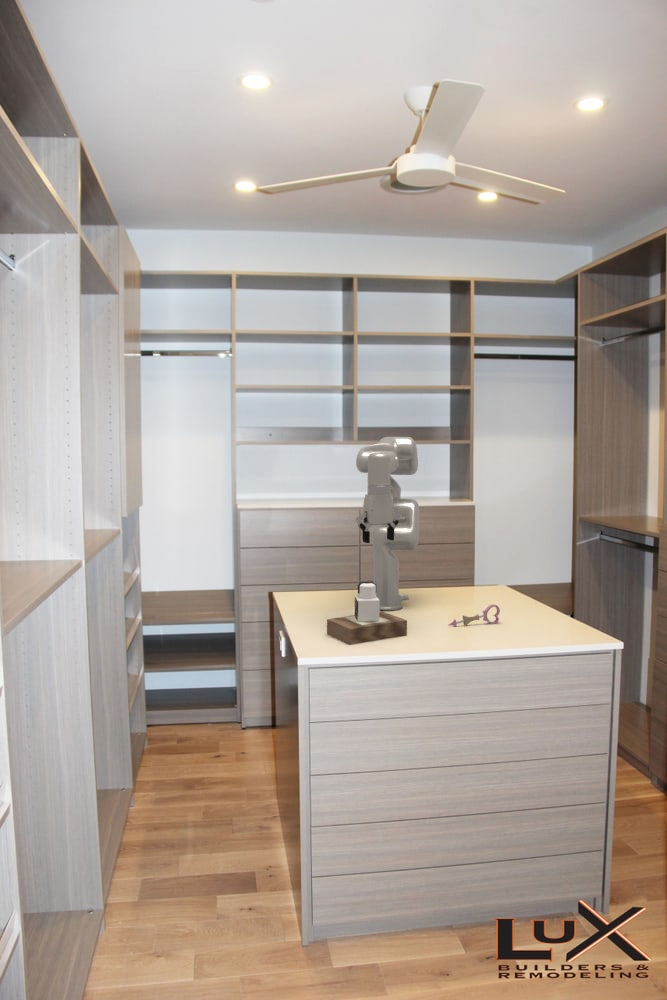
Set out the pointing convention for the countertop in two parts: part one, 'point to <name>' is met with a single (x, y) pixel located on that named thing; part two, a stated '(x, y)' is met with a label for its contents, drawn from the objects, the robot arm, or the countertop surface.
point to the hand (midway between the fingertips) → (378, 541)
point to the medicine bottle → (366, 603)
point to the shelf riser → (366, 628)
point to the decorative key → (467, 620)
